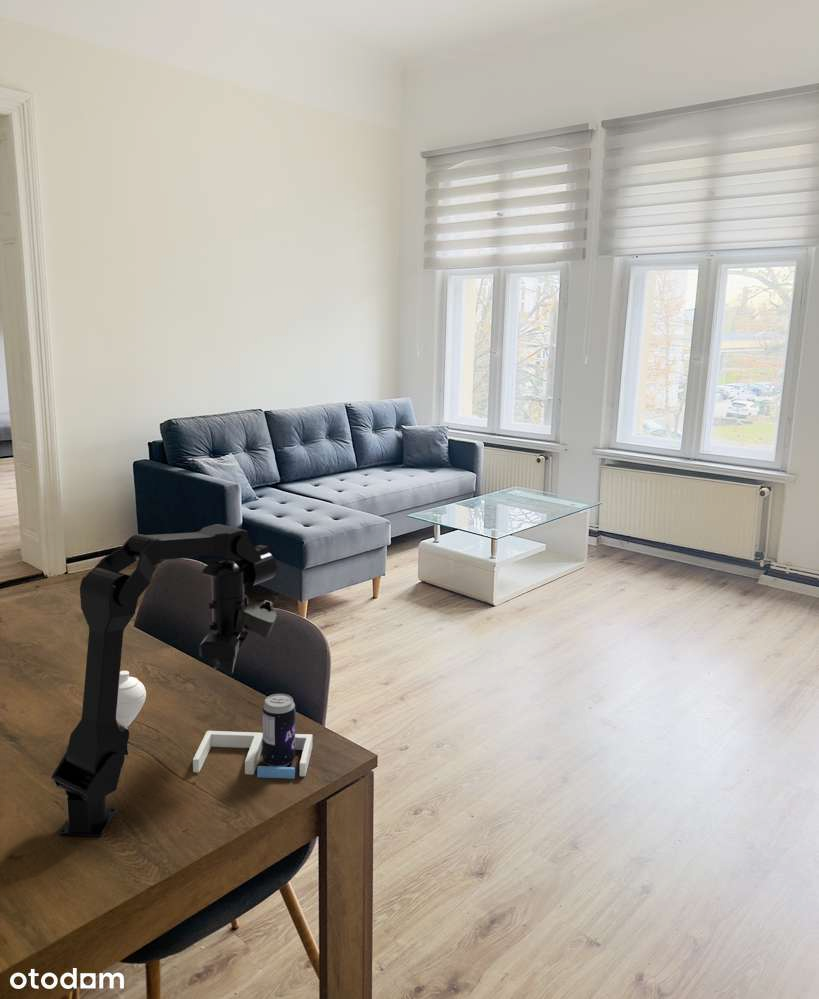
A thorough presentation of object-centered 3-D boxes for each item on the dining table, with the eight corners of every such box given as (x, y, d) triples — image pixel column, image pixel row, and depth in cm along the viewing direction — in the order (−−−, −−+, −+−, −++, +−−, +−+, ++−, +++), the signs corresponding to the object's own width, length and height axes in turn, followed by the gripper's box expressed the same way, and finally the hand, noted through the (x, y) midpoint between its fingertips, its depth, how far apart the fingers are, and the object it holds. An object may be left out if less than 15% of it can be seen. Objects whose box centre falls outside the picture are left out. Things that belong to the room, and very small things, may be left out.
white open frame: (304, 779, 137) (304, 766, 136) (192, 774, 137) (191, 761, 136) (312, 746, 147) (312, 734, 147) (207, 742, 147) (207, 730, 147)
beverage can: (288, 772, 139) (288, 709, 136) (258, 767, 140) (257, 705, 137) (299, 755, 144) (299, 694, 142) (269, 750, 145) (269, 690, 143)
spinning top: (102, 743, 146) (99, 683, 143) (106, 722, 153) (103, 665, 150) (146, 738, 148) (144, 679, 145) (148, 718, 155) (146, 661, 152)
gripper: (263, 614, 134) (263, 699, 137) (281, 578, 152) (281, 654, 156) (197, 612, 134) (199, 696, 137) (223, 576, 152) (224, 652, 156)
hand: (229, 673), depth 146 cm, fingers closed
